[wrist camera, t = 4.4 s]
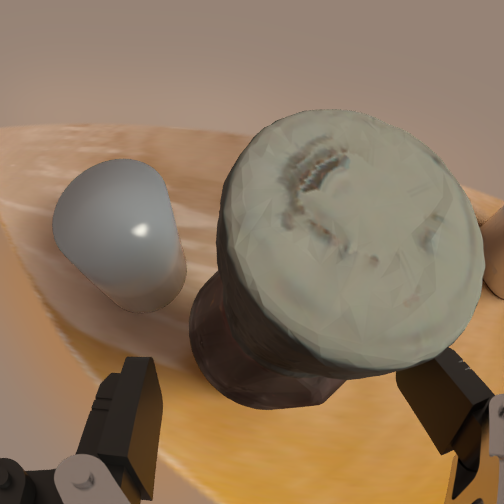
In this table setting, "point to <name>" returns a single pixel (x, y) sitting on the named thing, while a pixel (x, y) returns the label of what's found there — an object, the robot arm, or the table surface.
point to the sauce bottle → (333, 261)
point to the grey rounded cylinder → (122, 234)
